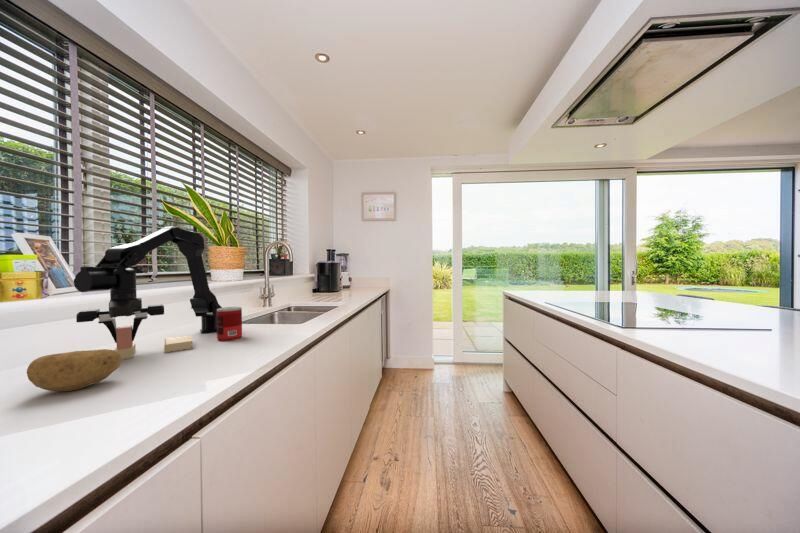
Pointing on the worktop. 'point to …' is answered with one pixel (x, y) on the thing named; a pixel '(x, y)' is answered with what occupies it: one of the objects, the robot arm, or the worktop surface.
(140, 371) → the worktop surface
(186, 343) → the hinged cream panel
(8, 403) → the worktop surface
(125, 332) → the stub
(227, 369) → the worktop surface
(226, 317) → the canned food
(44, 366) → the potato
